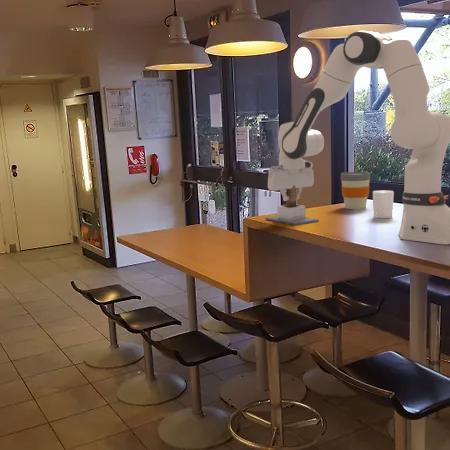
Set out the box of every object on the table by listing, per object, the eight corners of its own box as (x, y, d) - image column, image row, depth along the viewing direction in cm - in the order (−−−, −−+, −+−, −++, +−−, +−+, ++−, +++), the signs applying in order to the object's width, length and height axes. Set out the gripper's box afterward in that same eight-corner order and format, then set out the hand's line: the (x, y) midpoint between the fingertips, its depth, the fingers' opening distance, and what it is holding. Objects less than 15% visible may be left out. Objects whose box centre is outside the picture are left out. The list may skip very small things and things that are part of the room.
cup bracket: (318, 221, 213) (318, 206, 212) (294, 225, 207) (293, 210, 206) (289, 216, 228) (289, 202, 227) (265, 219, 222) (265, 205, 221)
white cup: (397, 217, 214) (398, 191, 213) (380, 219, 212) (380, 193, 210) (385, 214, 222) (385, 189, 220) (368, 216, 219) (368, 191, 217)
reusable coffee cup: (342, 205, 251) (342, 172, 248) (371, 205, 247) (371, 171, 244) (339, 209, 239) (339, 174, 236) (369, 209, 235) (369, 174, 232)
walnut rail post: (298, 215, 216) (298, 184, 214) (290, 216, 214) (290, 185, 212) (292, 214, 220) (291, 184, 218) (284, 215, 218) (283, 185, 216)
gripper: (273, 166, 206) (274, 203, 208) (316, 162, 216) (316, 198, 218) (263, 166, 211) (264, 202, 213) (305, 162, 221) (306, 196, 224)
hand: (291, 200), depth 216 cm, fingers closed on walnut rail post, 4 cm apart
